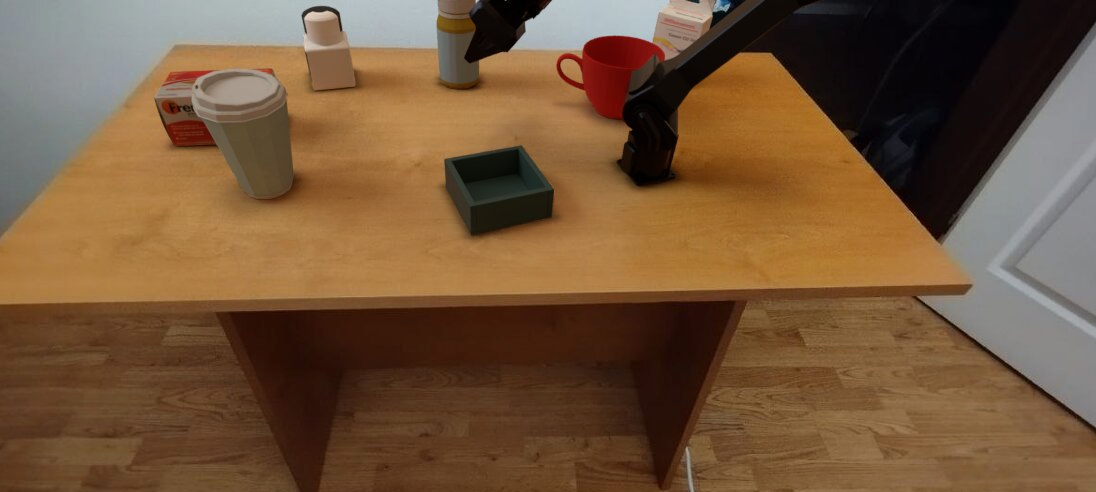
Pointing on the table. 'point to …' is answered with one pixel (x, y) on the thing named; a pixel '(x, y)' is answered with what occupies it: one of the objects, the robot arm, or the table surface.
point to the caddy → (498, 189)
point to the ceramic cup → (609, 69)
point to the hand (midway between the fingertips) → (479, 47)
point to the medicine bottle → (327, 49)
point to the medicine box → (184, 109)
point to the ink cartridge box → (681, 25)
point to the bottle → (455, 43)
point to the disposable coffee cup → (248, 127)
